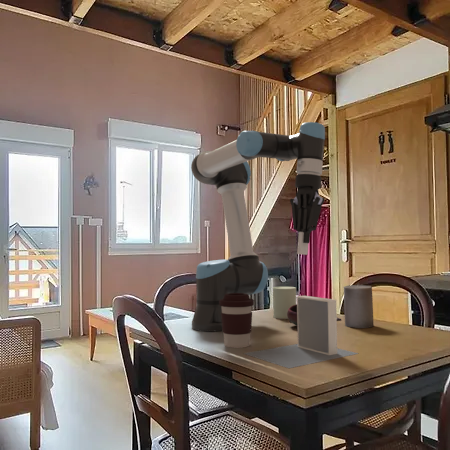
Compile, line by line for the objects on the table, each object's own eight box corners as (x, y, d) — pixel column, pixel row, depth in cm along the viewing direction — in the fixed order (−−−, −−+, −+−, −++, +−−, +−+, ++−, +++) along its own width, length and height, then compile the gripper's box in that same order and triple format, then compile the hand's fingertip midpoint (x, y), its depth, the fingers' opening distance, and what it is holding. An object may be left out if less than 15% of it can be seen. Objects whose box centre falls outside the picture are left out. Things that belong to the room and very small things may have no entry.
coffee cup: (230, 341, 143) (230, 291, 143) (260, 345, 138) (259, 293, 138) (213, 348, 134) (212, 295, 135) (244, 352, 129) (243, 296, 130)
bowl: (329, 329, 161) (329, 305, 161) (292, 330, 159) (291, 306, 159) (314, 321, 176) (314, 299, 177) (281, 322, 175) (280, 300, 175)
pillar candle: (369, 323, 171) (367, 281, 172) (377, 328, 161) (375, 283, 162) (342, 323, 171) (340, 282, 172) (348, 328, 162) (346, 284, 162)
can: (270, 315, 191) (270, 285, 192) (293, 314, 192) (292, 285, 193) (275, 319, 182) (275, 287, 182) (299, 318, 183) (298, 287, 183)
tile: (297, 346, 132) (296, 296, 133) (305, 345, 134) (304, 295, 134) (329, 355, 122) (328, 300, 123) (337, 353, 124) (336, 299, 124)
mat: (243, 355, 125) (243, 353, 125) (310, 343, 139) (310, 341, 139) (288, 370, 110) (288, 368, 110) (358, 355, 124) (358, 353, 124)
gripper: (285, 175, 145) (278, 252, 144) (314, 171, 134) (307, 254, 133) (304, 178, 149) (297, 254, 148) (333, 175, 138) (327, 256, 137)
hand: (302, 254), depth 140 cm, fingers closed
